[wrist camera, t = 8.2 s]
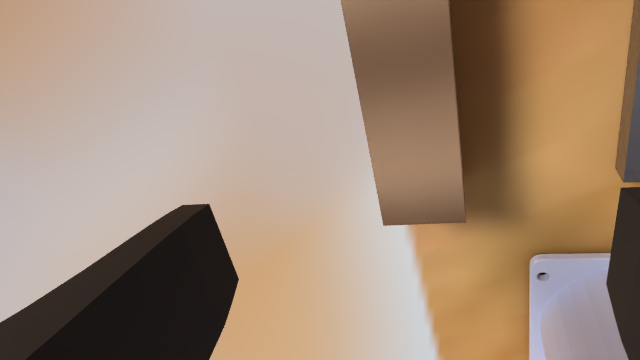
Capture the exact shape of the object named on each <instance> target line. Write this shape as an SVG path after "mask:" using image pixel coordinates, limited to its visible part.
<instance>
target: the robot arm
mask: <svg viewBox="0 0 640 360" xmlns="http://www.w3.org/2000/svg"><path fill="white" fill-rule="evenodd" d="M542 272H544V273H546V274H544V275H539V273H542ZM238 280H239V279H238V276H237V274H236V271H235V268H234V266H233V263H232V261H231V258H230V256H229V254H228V251H227V248H226V246H225V243H224V241H223V238H222V235H221V233H220V230H219V228H218V225H217V223H216V220H215V218H214V215H213V212H212V210H211V208H210V205H209V204H199V205H182V206H180V207H178V208H177V209H175V210H173V211H171V212H170V213H168V214H166V215H165V216H163V217H161V218H160V219H159V220H157V221H155V222H154V223H152V224H151V225H149V226H148V227H146V228H145V229H143V230H142V231H141V232H139V233H137V234H136V235H134V236H133V237H131V238H130V239H129V240H127V241H126V242H124V243H123V244H121V245H120V246H119V247H117V248H115V249H114V250H112V251H111V252H110V253H108V254H107V255H105V256H104V257H102V258H101V259H100V260H98V261H97V262H95V263H93V264H92V265H91V266H89V267H88V268H86V269H85V270H83V271H82V272H80V273H79V274H77V275H75V276H74V277H72V278H71V279H69V280H68V281H66V282H65V283H63V284H61V285H60V286H58V287H57V288H55V289H54V290H52V291H51V292H49V293H48V294H46V295H45V296H43V297H41V298H40V299H38V300H37V301H35V302H34V303H32V304H30V305H29V306H27V307H26V308H24V309H22V310H21V311H19V312H18V313H16V314H14V315H13V316H11V317H9V318H7V319H6V320H4V321H2V322H1V323H0V360H209V359H210V356H211V354H212V352H213V350H214V348H215V346H216V343H217V341H218V339H219V337H220V335H221V332H222V330H223V328H224V325H225V322H226V320H227V317H228V314H229V311H230V307H231V304H232V301H233V297H234V294H235V290H236V287H237V284H238ZM529 360H640V187H629V188H621V191H620V197H619V204H618V210H617V217H616V223H615V230H614V236H613V242H612V249H611V253H578V254H540V255H536V256H534V257H533V258H532V259H531V260H530V268H529Z"/></svg>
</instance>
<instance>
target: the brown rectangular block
mask: <svg viewBox="0 0 640 360" xmlns="http://www.w3.org/2000/svg"><path fill="white" fill-rule="evenodd" d="M341 5H342V10H343V15H344V20H345V26H346V31H347V36H348V41H349V46H350V51H351V57H352V62H353V68H354V73H355V78H356V83H357V89H358V94H359V99H360V104H361V109H362V114H363V120H364V125H365V131H366V135H367V141H368V146H369V152H370V157H371V162H372V167H373V172H374V178H375V183H376V188H377V194H378V199H379V204H380V210H381V215H382V220H383V225H411V224H438V223H465V222H466V217H465V197H464V177H463V164H462V151H461V138H460V125H459V113H458V100H457V87H456V74H455V61H454V48H453V35H452V22H451V9H450V0H341Z"/></svg>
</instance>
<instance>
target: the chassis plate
mask: <svg viewBox="0 0 640 360" xmlns="http://www.w3.org/2000/svg"><path fill="white" fill-rule="evenodd" d="M615 168H616V170H617V172H618V174H619V176H620V177H621V179H622V181H623V183H624V182H640V0H634V7H633V16H632V25H631V34H630V43H629V52H628V60H627V69H626V78H625V87H624V96H623V105H622V114H621V122H620V131H619V140H618V149H617V158H616V167H615Z"/></svg>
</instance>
